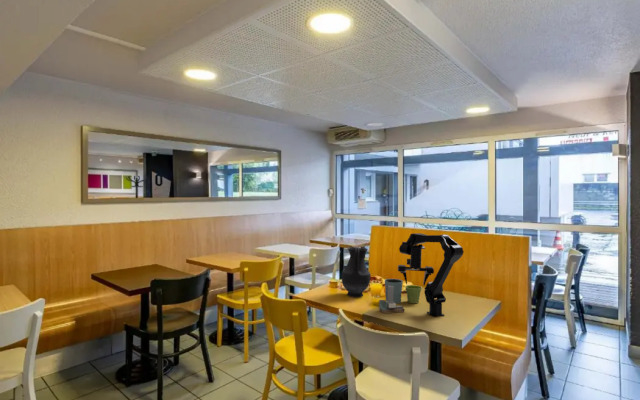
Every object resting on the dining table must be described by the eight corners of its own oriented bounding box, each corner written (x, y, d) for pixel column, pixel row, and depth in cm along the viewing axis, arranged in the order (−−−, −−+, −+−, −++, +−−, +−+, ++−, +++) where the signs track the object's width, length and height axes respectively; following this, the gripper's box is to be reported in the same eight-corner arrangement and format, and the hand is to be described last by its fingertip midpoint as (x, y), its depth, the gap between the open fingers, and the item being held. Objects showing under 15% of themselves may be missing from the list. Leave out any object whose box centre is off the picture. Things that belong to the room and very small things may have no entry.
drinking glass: (404, 300, 211) (405, 280, 211) (398, 305, 202) (399, 283, 202) (387, 298, 216) (388, 277, 216) (381, 302, 207) (382, 280, 207)
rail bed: (400, 309, 194) (400, 297, 194) (404, 312, 189) (404, 300, 189) (379, 310, 191) (379, 298, 191) (383, 313, 186) (383, 301, 186)
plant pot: (402, 302, 207) (403, 287, 207) (407, 298, 215) (407, 284, 215) (419, 305, 202) (419, 289, 202) (423, 301, 211) (423, 286, 211)
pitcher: (369, 292, 228) (370, 244, 228) (370, 301, 207) (372, 248, 207) (341, 291, 230) (342, 243, 230) (340, 299, 209) (341, 247, 209)
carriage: (391, 304, 193) (392, 285, 193) (395, 307, 188) (396, 287, 188) (384, 305, 192) (385, 285, 192) (388, 307, 187) (389, 287, 187)
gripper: (431, 255, 205) (430, 282, 205) (397, 253, 208) (397, 280, 209) (434, 258, 194) (433, 287, 194) (398, 256, 197) (397, 285, 198)
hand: (415, 284), depth 199 cm, fingers open, 9 cm apart
